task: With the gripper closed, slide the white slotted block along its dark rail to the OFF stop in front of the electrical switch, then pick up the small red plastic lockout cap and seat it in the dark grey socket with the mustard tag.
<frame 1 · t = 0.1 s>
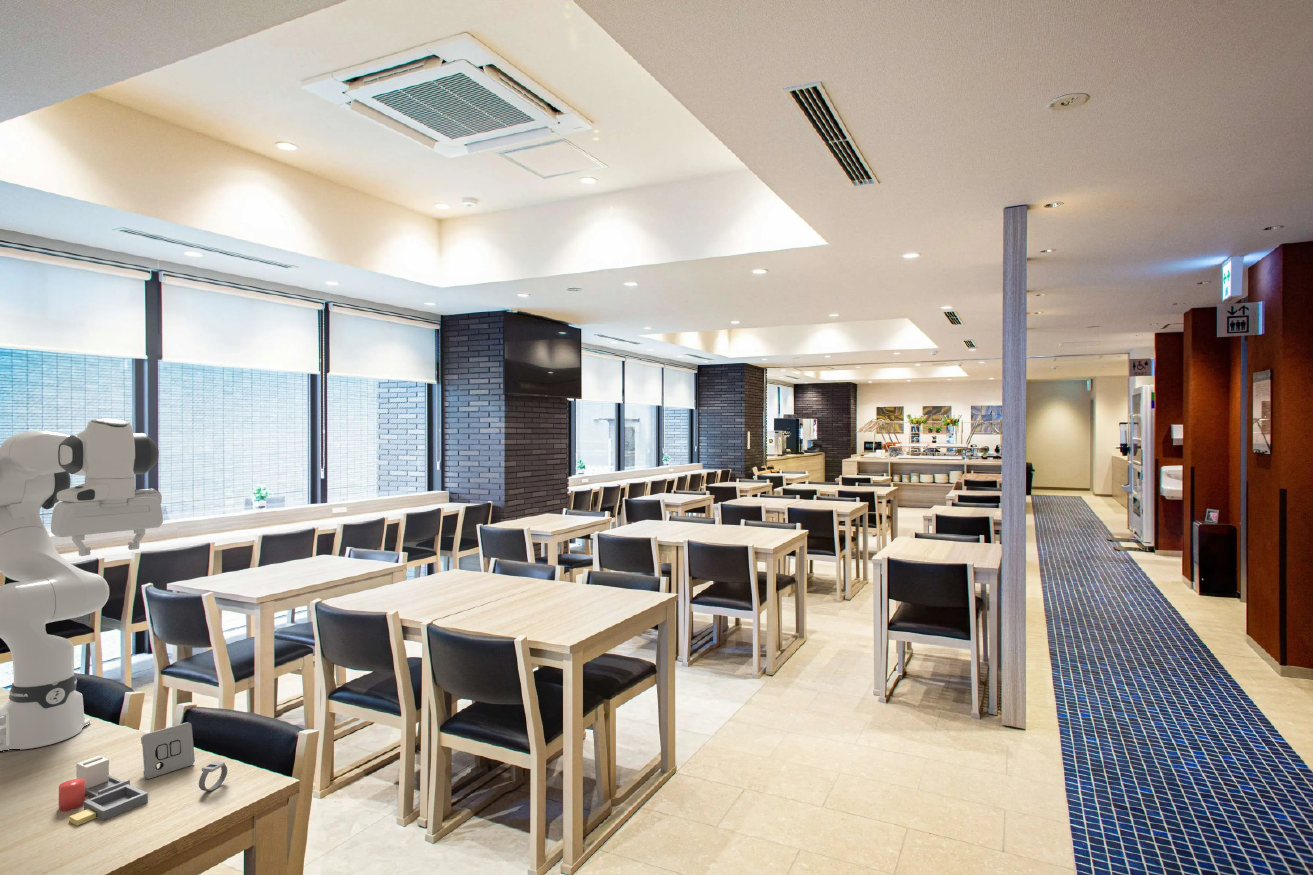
hand: (109, 552, 152), 48 cm above the table, tool pointing down, fingers open, 8 cm apart
white slotted block: (92, 771, 144), point 3 cm above the table, slide at 0.0 cm
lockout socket: (116, 806, 135), on the table
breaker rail: (92, 784, 144), on the table
electrical switch: (165, 770, 151), on the table
wristwatch: (213, 789, 142), on the table
lockout cap: (71, 805, 135), on the table
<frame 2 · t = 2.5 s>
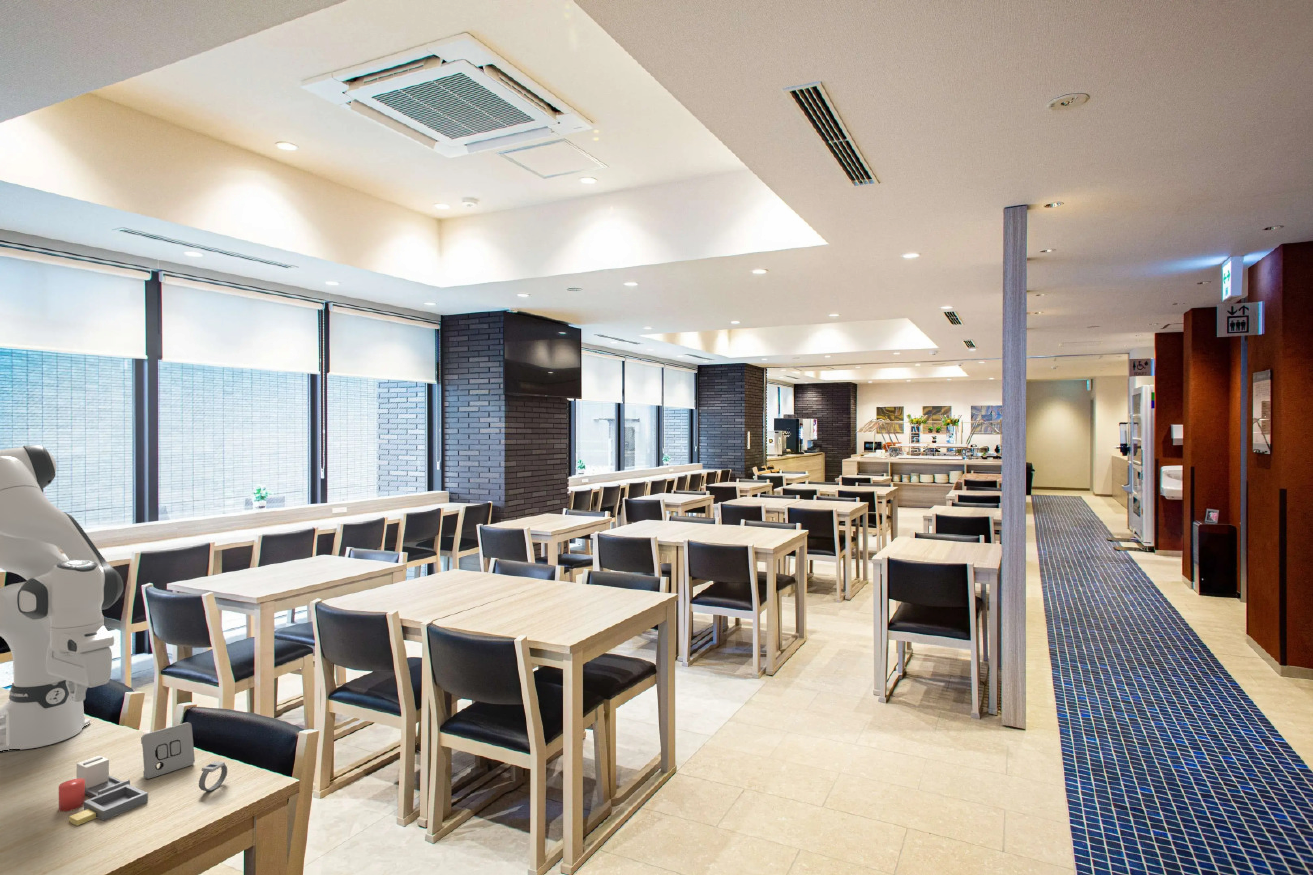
hand: (77, 700, 147), 17 cm above the table, tool pointing down, fingers closed
nothing on the table moved.
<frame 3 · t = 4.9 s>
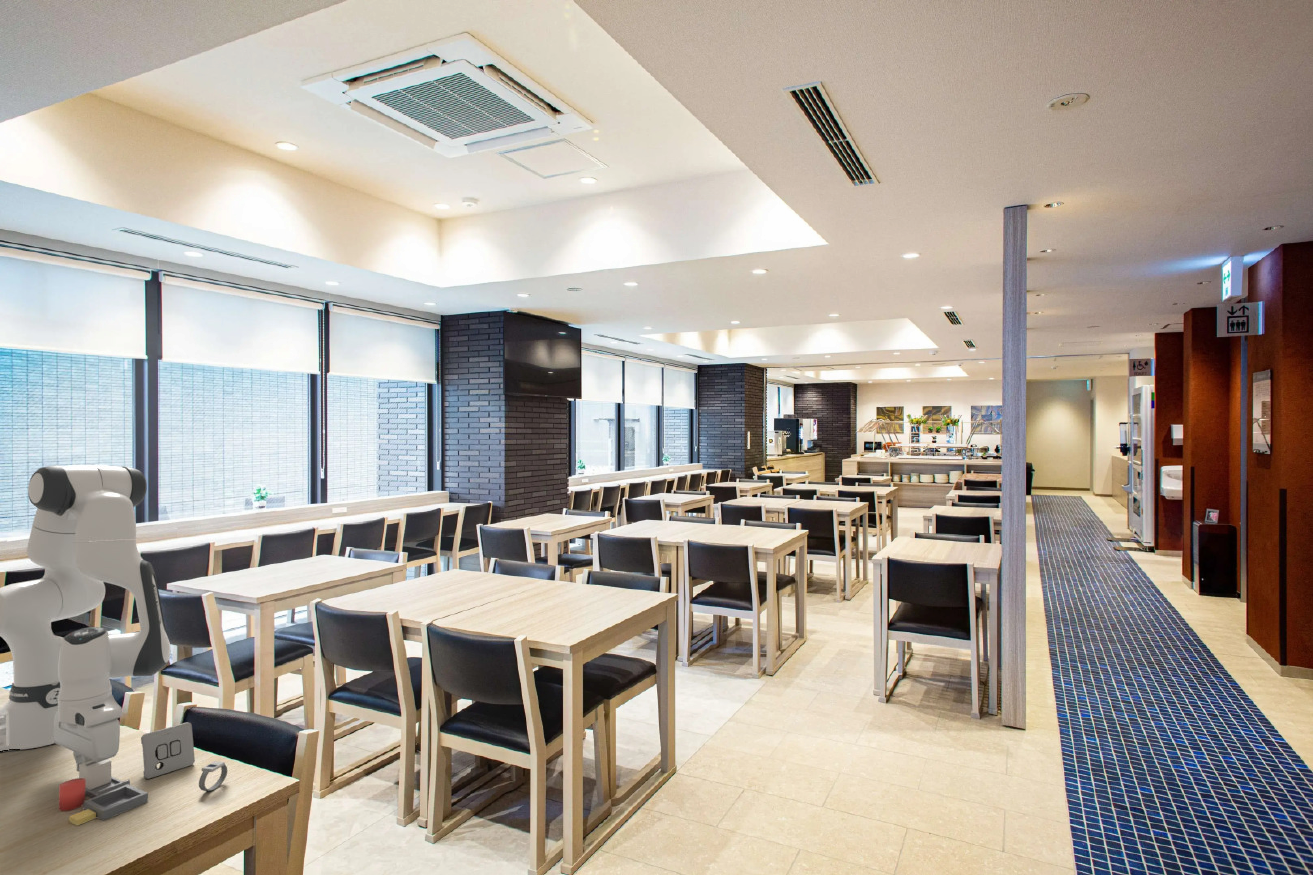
hand: (84, 771, 145), 2 cm above the table, tool pointing down, fingers closed
white slotted block: (95, 772, 143), point 3 cm above the table, slide at 1.0 cm, touching gripper
everything else where it was.
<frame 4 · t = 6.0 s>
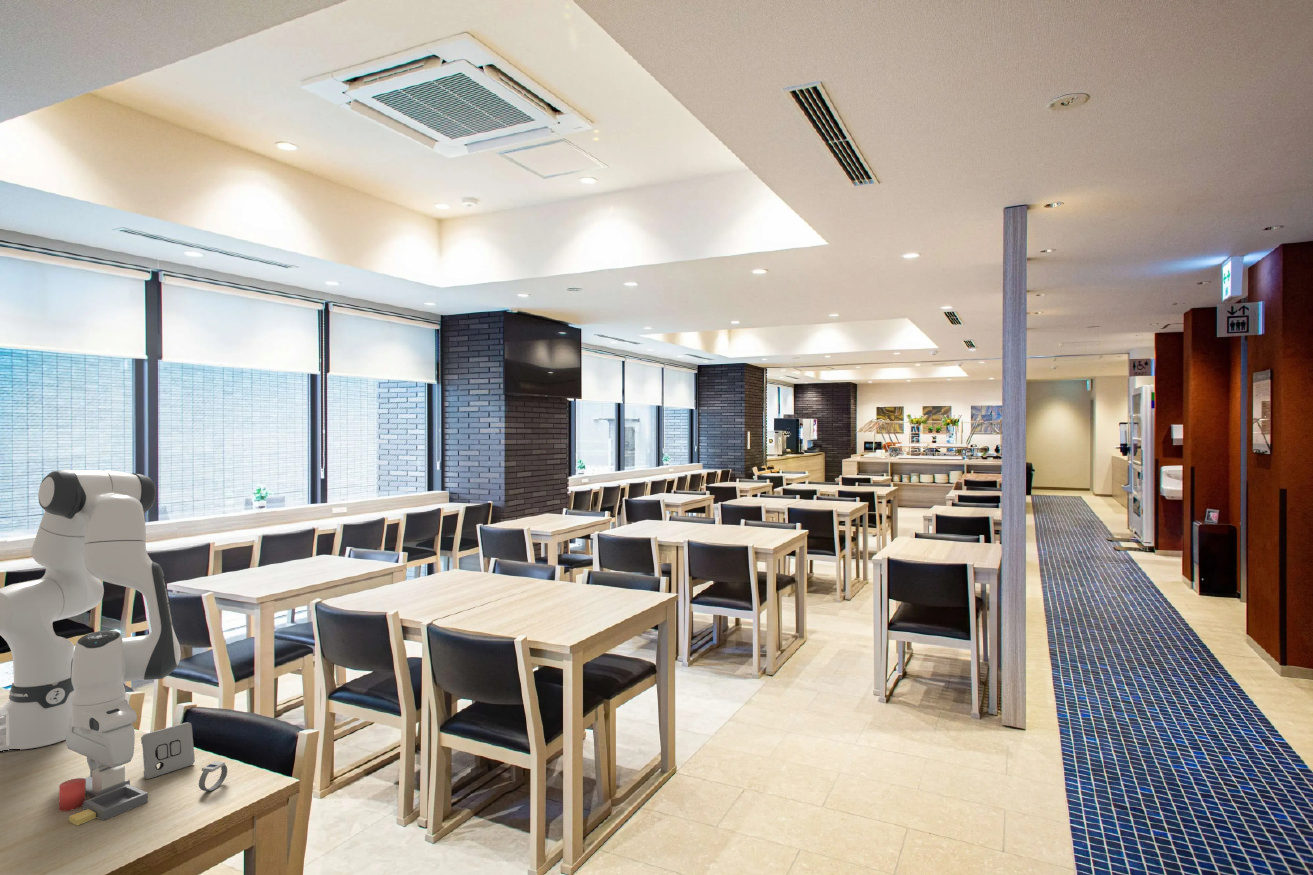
hand: (98, 777, 142), 2 cm above the table, tool pointing down, fingers closed
white slotted block: (108, 778, 141), point 3 cm above the table, slide at 6.5 cm, touching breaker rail, gripper
everything else where it was.
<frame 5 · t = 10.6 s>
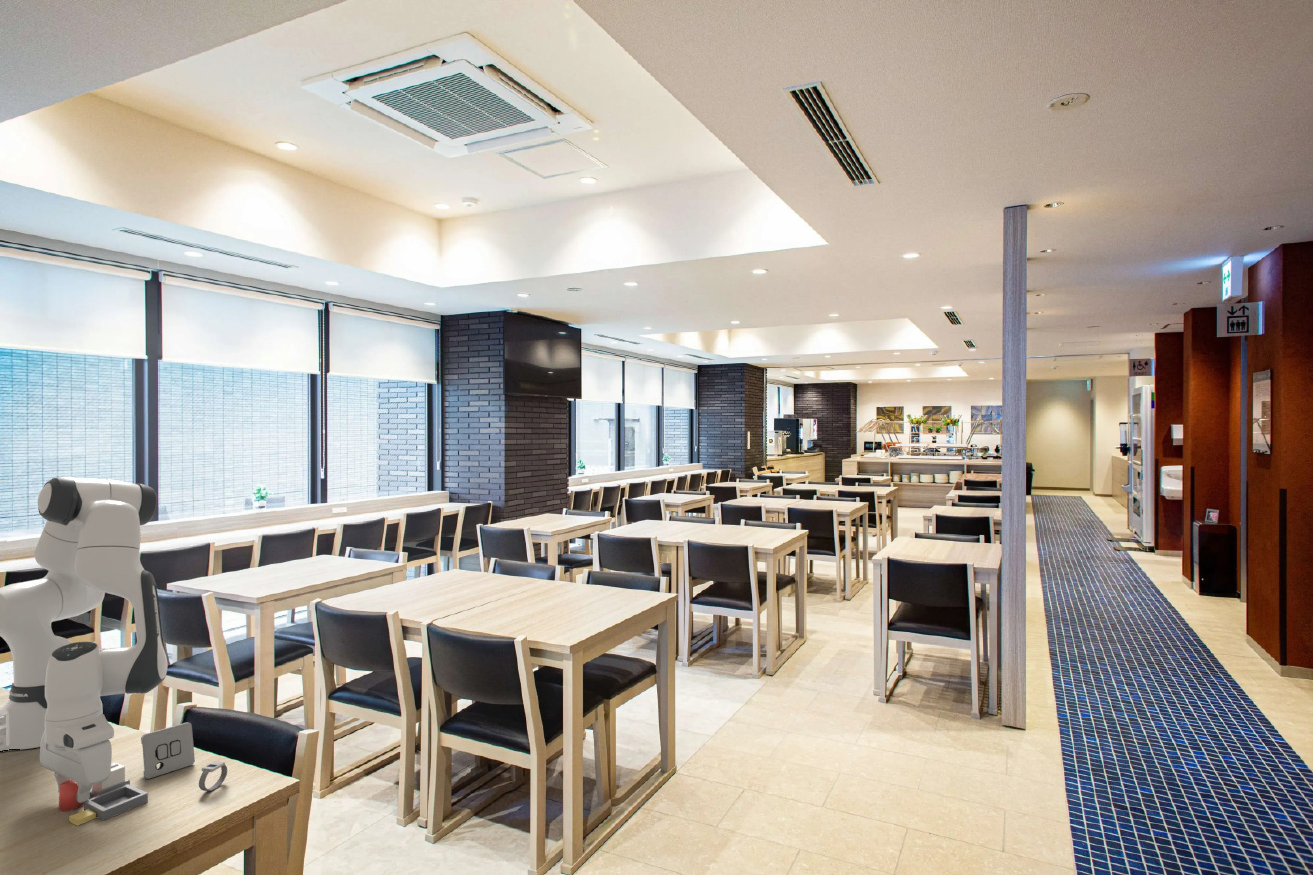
hand: (73, 796, 135), 2 cm above the table, tool pointing down, fingers open, 5 cm apart
white slotted block: (108, 778, 141), point 3 cm above the table, slide at 6.5 cm, touching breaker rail
everything else where it was.
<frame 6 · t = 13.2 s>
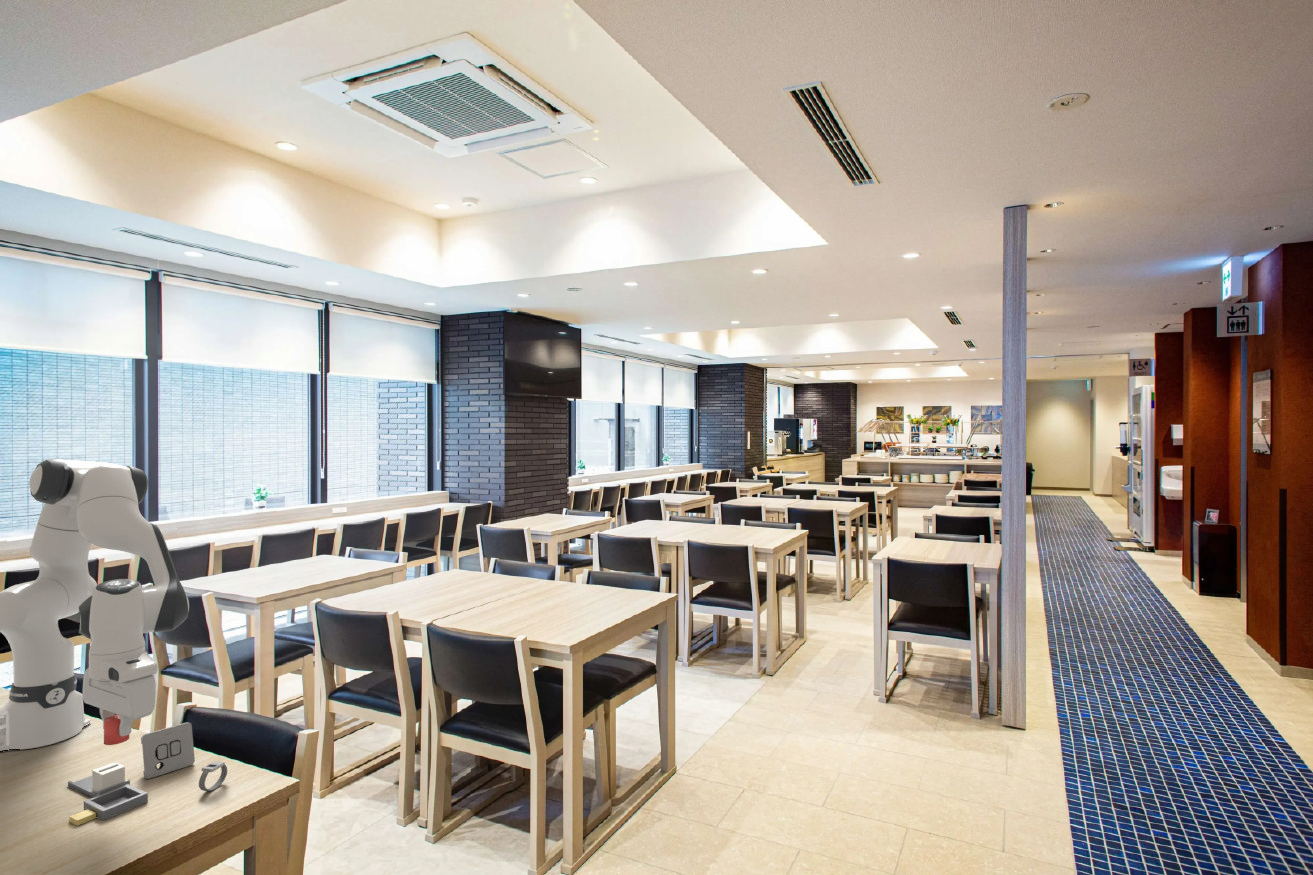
hand: (117, 731, 136), 15 cm above the table, tool pointing down, fingers closed on lockout cap, 4 cm apart
lockout cap: (116, 740, 135), point 13 cm above the table, touching gripper
everything else where it was.
when the fingers open (3 cm above the table, at t = 15.6 s): lockout cap drops 1 cm, resting on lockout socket.
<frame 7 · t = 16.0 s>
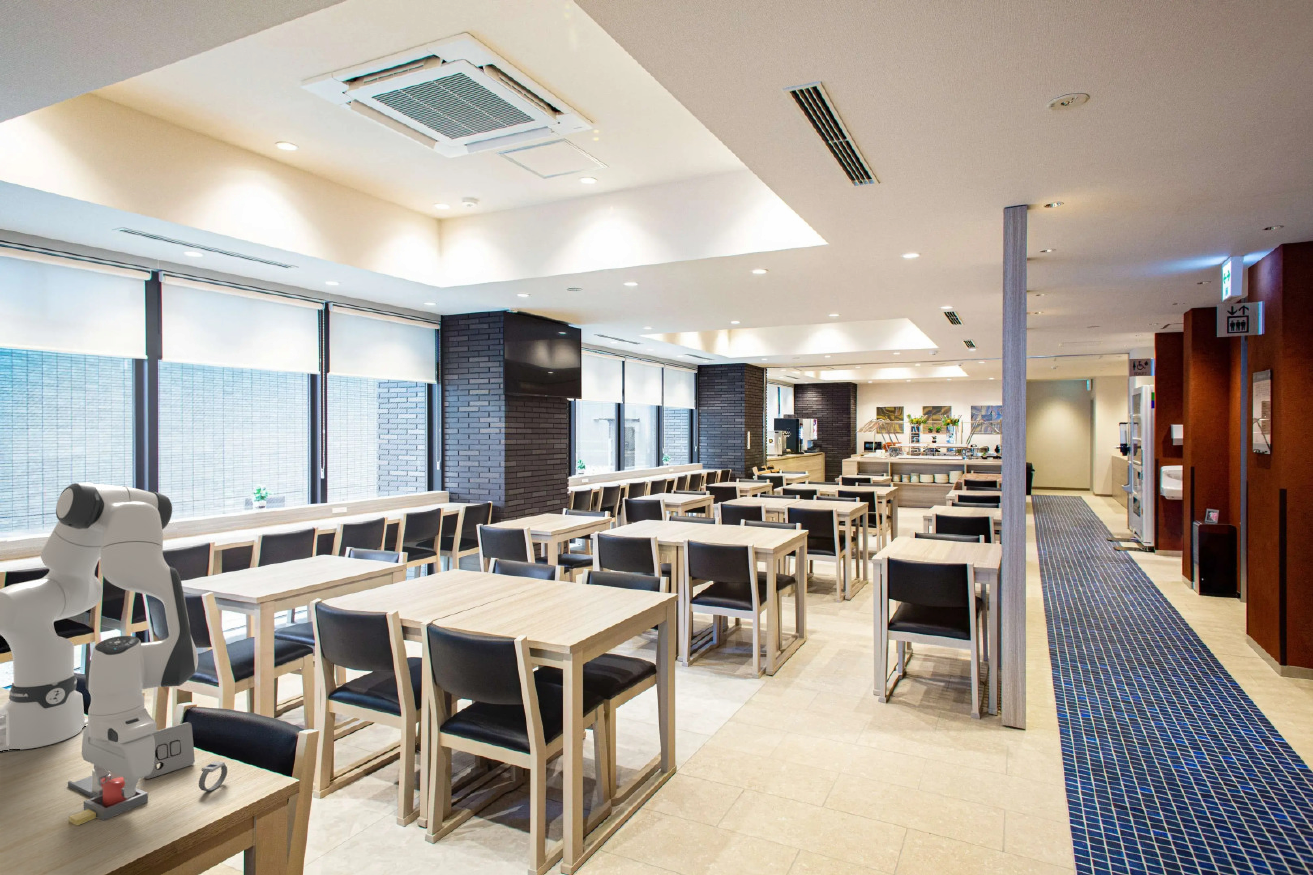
hand: (116, 790, 135), 3 cm above the table, tool pointing down, fingers open, 8 cm apart
white slotted block: (108, 778, 141), point 3 cm above the table, slide at 6.5 cm, touching gripper
lockout cap: (115, 804, 135), resting on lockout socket
everything else where it was.
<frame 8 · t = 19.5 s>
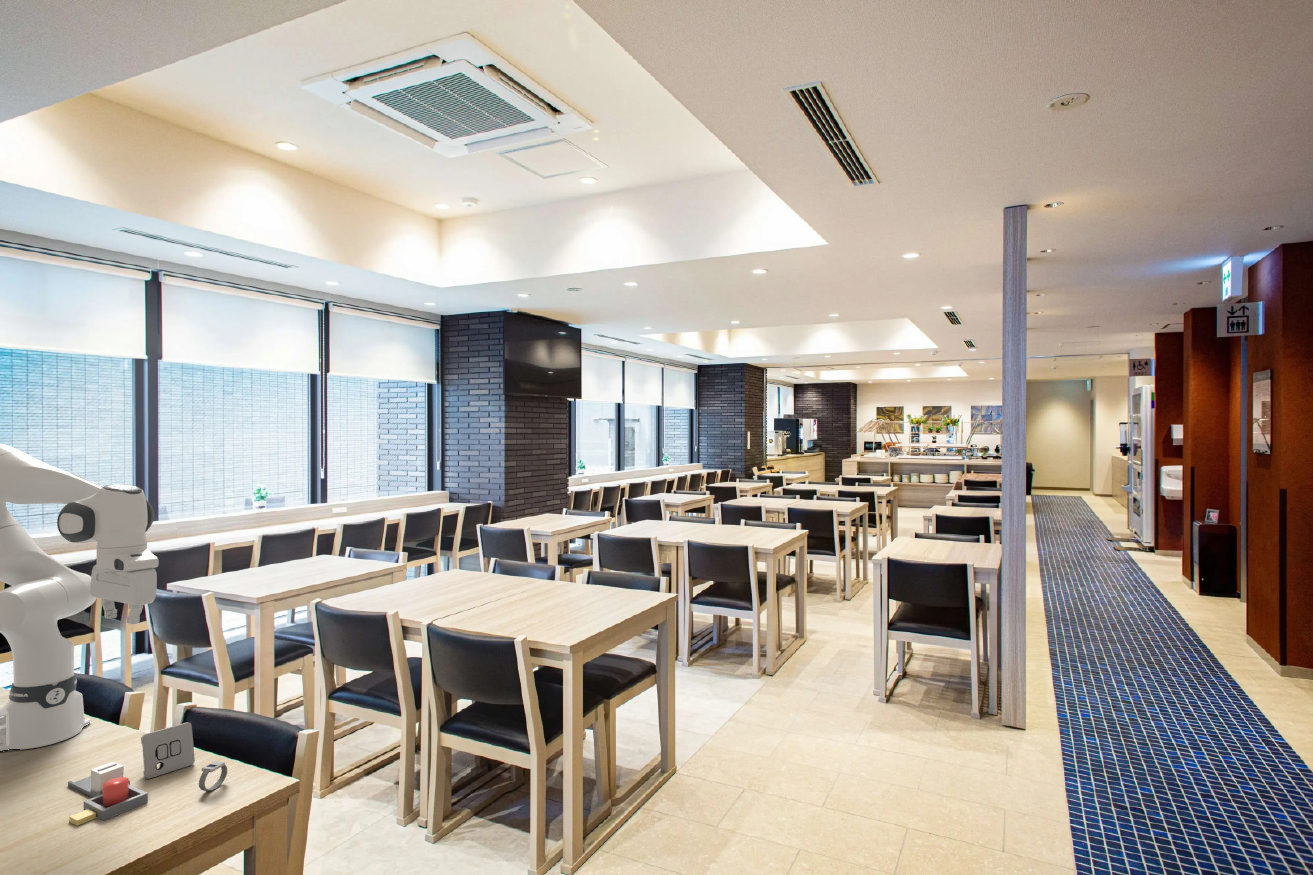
hand: (121, 620, 150), 33 cm above the table, tool pointing down, fingers open, 8 cm apart
white slotted block: (107, 777, 141), point 3 cm above the table, slide at 5.9 cm
everything else where it was.
at the end: white slotted block slide at 5.9 cm; lockout cap 0.1 cm off-centre on the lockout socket, point 0.3 cm above the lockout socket's base; lockout cap tilted 0° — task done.
